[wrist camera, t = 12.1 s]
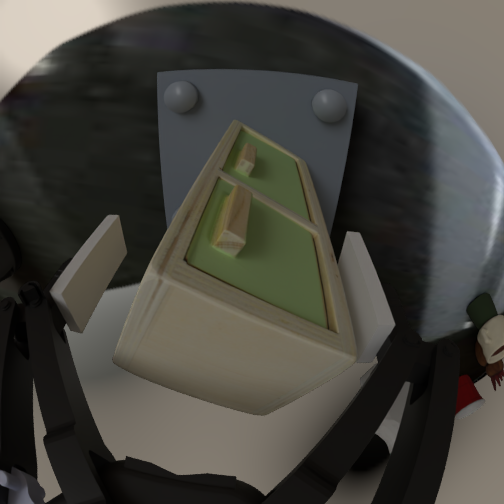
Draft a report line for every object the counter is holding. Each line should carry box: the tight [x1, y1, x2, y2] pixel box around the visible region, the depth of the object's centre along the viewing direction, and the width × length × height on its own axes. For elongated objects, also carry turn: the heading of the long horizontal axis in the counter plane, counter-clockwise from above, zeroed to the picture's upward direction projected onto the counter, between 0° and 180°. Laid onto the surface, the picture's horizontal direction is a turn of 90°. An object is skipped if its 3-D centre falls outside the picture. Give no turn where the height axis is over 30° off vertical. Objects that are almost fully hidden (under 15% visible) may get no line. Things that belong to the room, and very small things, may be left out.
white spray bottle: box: [360, 364, 410, 455], centre depth 47 cm, size 11×8×27 cm
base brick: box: [157, 69, 358, 238], centre depth 29 cm, size 18×18×7 cm
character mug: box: [467, 293, 504, 364], centre depth 39 cm, size 11×7×13 cm, turn 73°
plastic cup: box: [455, 375, 485, 419], centre depth 59 cm, size 11×11×12 cm
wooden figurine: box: [475, 340, 504, 391], centre depth 45 cm, size 7×6×15 cm
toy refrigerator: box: [112, 120, 358, 416], centre depth 18 cm, size 8×7×21 cm
